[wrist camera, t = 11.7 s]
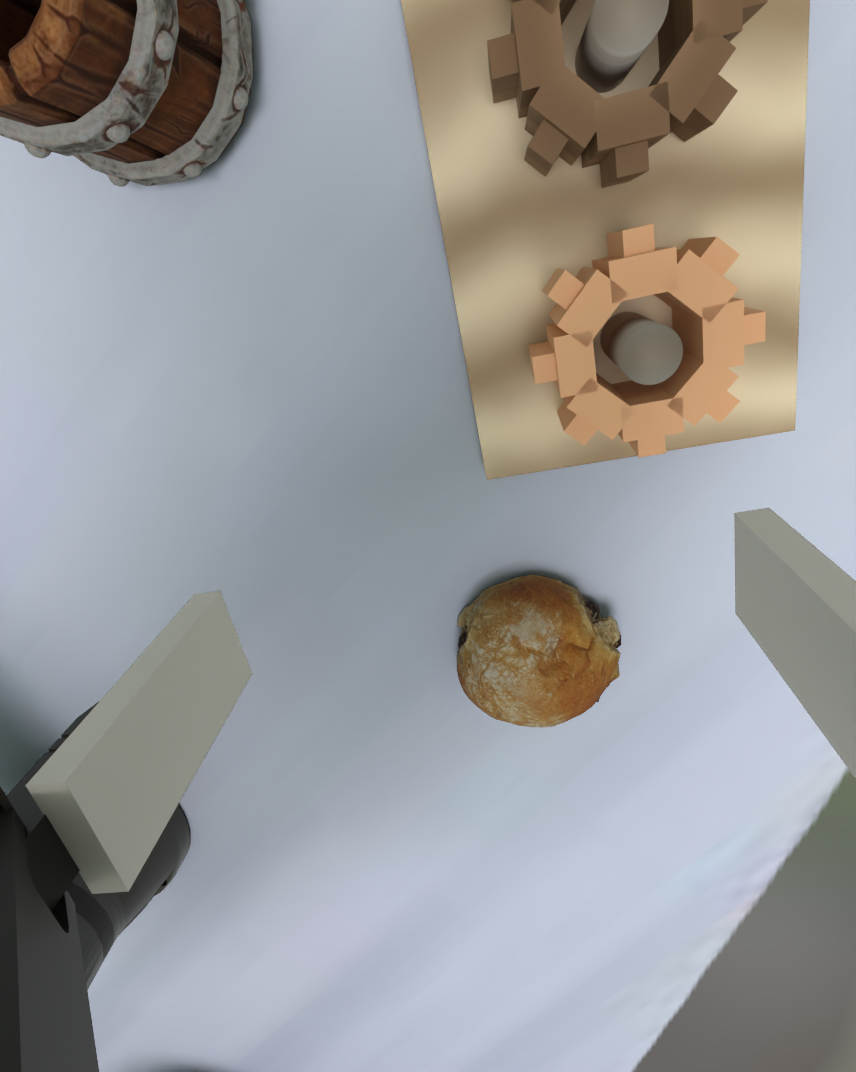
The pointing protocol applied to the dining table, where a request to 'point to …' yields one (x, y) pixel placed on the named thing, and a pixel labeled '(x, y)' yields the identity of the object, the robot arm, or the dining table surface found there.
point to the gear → (697, 317)
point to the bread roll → (535, 652)
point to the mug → (126, 82)
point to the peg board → (612, 190)
